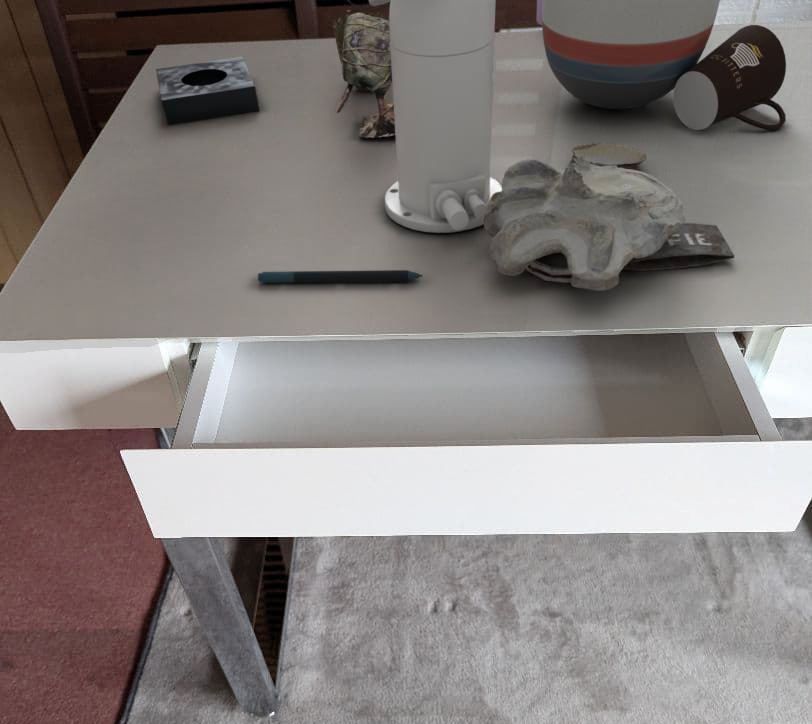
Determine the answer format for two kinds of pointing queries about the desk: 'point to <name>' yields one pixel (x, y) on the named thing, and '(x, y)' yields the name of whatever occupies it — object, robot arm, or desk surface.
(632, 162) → the seashell
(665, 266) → the dark snack bar packet
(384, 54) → the plant with pod
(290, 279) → the pen
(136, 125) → the desk surface
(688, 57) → the planter
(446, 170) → the robot arm
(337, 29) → the green rounded lump
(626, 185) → the fossil
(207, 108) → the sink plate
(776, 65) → the coffee mug
